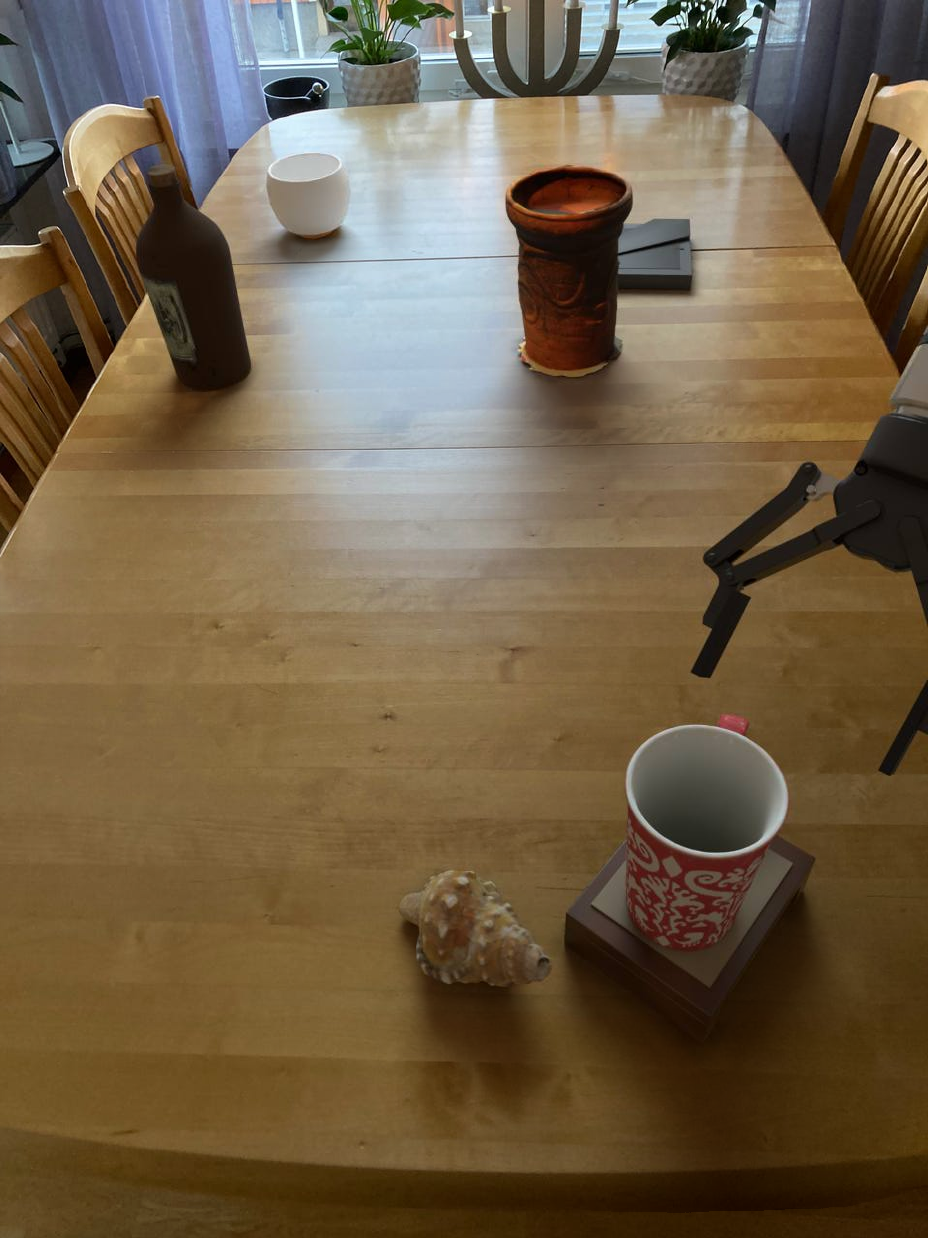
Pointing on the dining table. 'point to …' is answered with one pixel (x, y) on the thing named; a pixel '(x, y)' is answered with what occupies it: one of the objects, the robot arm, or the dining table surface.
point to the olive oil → (191, 288)
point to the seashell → (471, 933)
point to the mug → (698, 829)
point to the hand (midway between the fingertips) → (788, 722)
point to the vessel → (568, 265)
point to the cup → (309, 193)
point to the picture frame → (655, 255)
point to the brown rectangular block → (672, 977)
